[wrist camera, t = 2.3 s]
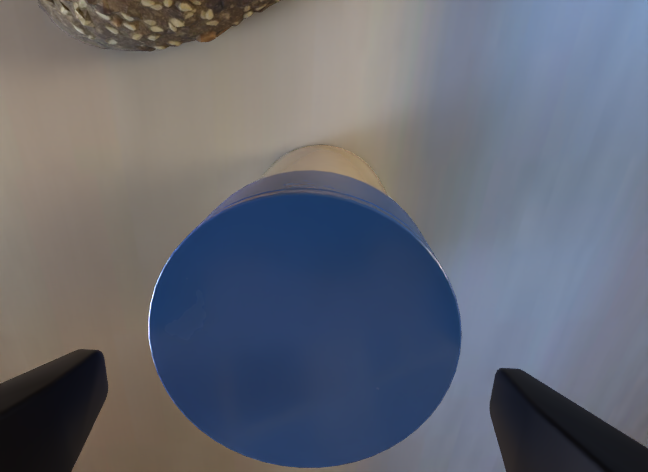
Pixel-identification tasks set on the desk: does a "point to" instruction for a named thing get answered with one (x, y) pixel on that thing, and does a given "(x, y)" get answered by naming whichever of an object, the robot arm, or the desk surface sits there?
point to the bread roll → (148, 20)
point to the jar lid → (305, 322)
